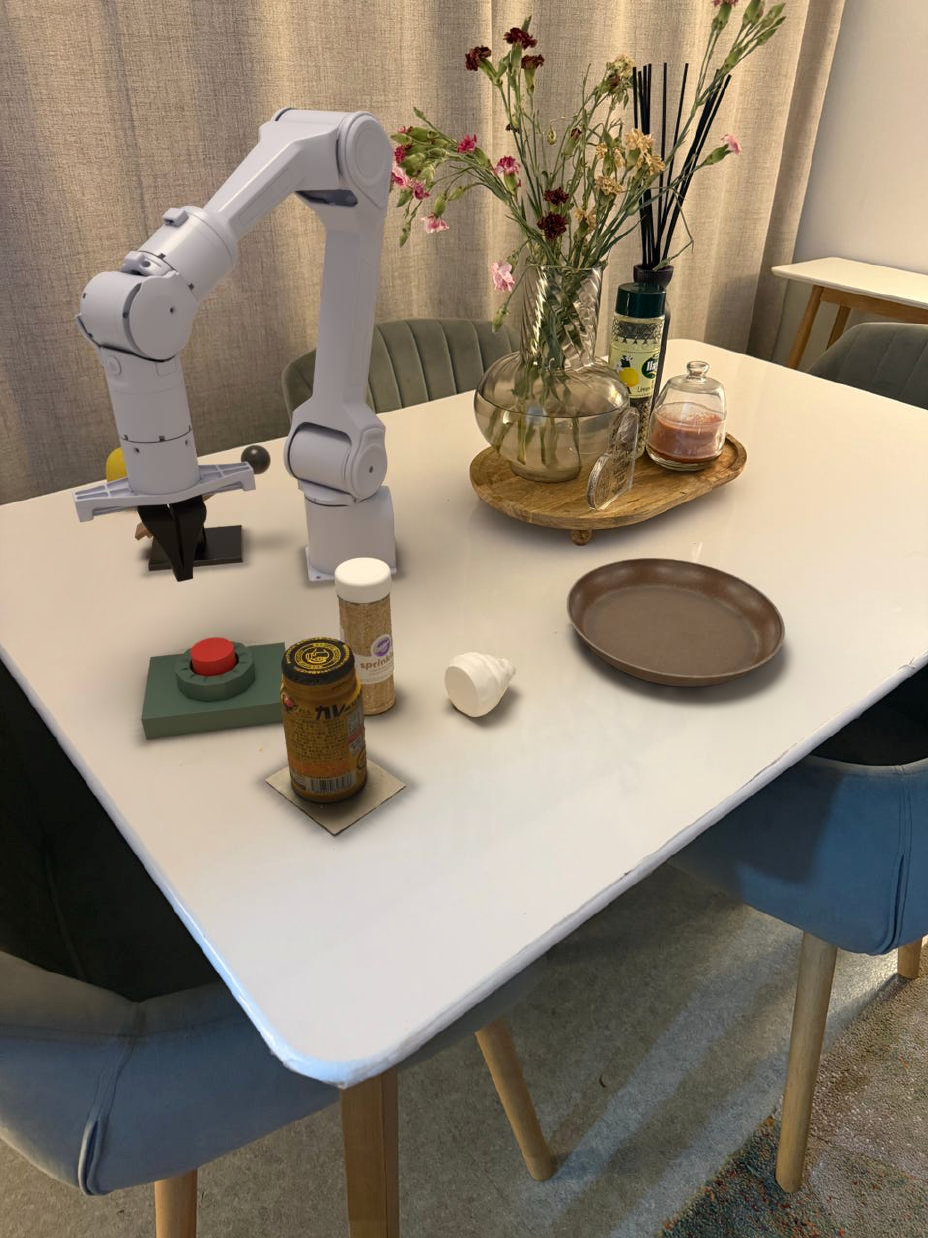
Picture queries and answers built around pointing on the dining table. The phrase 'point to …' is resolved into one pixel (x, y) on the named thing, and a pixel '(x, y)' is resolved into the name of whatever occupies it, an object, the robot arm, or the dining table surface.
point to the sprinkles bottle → (368, 627)
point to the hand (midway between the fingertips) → (183, 575)
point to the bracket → (206, 548)
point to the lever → (251, 454)
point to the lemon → (115, 466)
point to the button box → (213, 693)
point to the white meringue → (477, 682)
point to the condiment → (327, 737)
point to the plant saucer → (675, 621)
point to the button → (213, 656)
